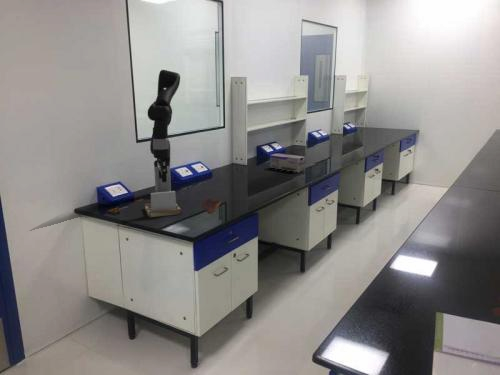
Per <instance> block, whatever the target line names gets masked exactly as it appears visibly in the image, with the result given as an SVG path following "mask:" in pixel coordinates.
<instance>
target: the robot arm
mask: <svg viewBox="0 0 500 375" xmlns="http://www.w3.org/2000/svg"><path fill="white" fill-rule="evenodd" d="M158 74H159V75H158V79H157V95H156V98H155V100H154V102H152V104H150V105H149V107H148V109H147V117H148V119H149V120H151V121H152V122H154V123H153V127H152V135H151V140H150V144H149V145H150V146H149V147H150V148H149V149H150V150H149V151H150V153H151V154H152V155H153V158H155V159H156V160H154V161H153V166H154V168H153V169H154V188H155V193H157V192H168V191H172V183H171V182H172V180H171V144H170V140H169V133H168V130H169V129H168V128H169V125H170V124H171V122H172V116H173V109H172V106H171V102H172V99H173V98H174V96H175V95H176V93H177V91H178V89H179V87H180V82H181V75H180V73H178V72H175V71H170V70H167V69H161V70H160V71H159V73H158Z"/></svg>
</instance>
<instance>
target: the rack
mask: <svg viewBox="0 0 500 375" xmlns="http://www.w3.org/2000/svg"><path fill="white" fill-rule="evenodd" d="M144 210H145V211H146V215H147V216H148V218H156V217H167V216H175V215H182V208H180V206H179V205H178V204H177V203H176V209H171V210H162V211H152V208H151V203H145V204H144Z"/></svg>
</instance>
